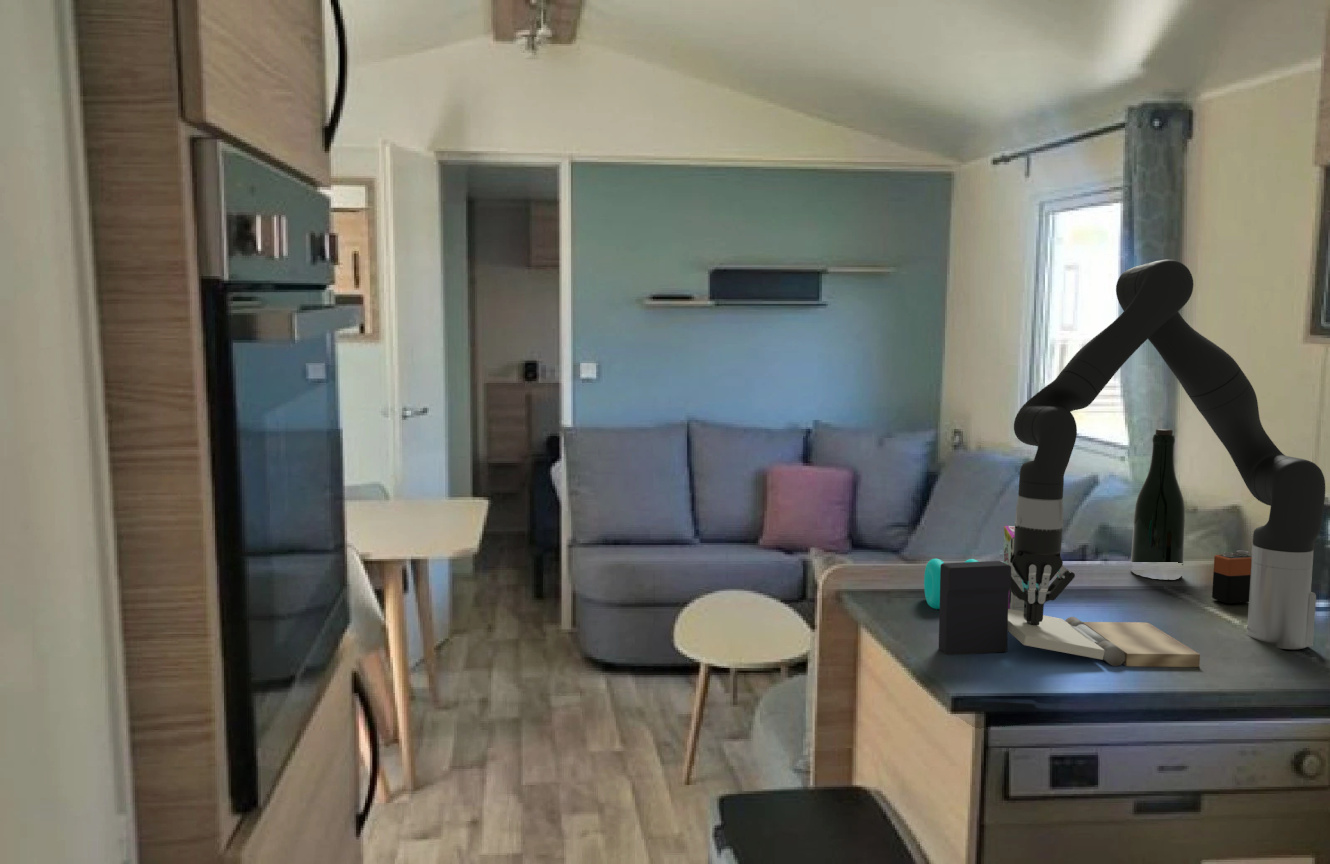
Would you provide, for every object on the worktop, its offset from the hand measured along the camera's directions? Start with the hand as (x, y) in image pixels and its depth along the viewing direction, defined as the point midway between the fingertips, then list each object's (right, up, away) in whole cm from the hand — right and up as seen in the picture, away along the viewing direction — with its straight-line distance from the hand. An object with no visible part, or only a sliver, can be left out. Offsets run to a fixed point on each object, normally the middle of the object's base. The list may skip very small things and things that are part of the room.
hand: (1032, 623), depth 171 cm
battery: (+53, -2, +33) cm, 62 cm away
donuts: (-6, -2, +24) cm, 25 cm away
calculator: (-11, -5, -1) cm, 12 cm away
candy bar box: (+4, -3, +20) cm, 21 cm away
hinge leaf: (+3, -3, 0) cm, 4 cm away
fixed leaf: (+17, -4, 0) cm, 18 cm away
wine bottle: (+47, 0, +53) cm, 71 cm away
